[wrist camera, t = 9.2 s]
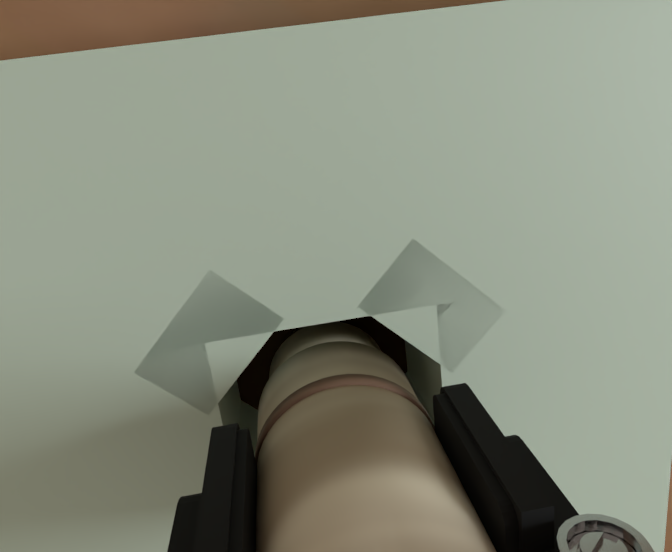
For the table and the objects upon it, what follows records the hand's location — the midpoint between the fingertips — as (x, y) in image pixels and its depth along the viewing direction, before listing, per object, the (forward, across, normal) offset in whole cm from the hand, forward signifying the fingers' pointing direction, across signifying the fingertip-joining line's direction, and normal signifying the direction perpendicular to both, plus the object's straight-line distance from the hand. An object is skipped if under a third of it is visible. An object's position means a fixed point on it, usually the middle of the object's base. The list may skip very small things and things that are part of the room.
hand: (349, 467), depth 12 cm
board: (+6, 0, 0) cm, 6 cm away
